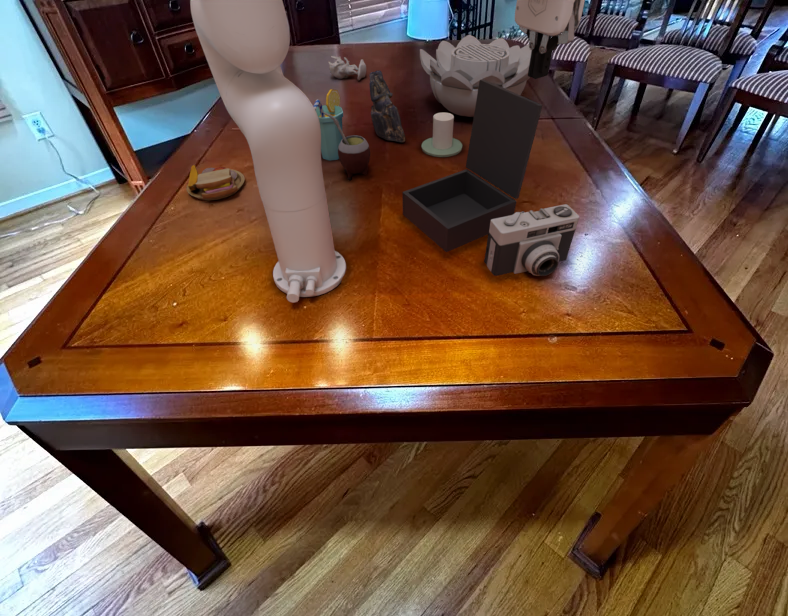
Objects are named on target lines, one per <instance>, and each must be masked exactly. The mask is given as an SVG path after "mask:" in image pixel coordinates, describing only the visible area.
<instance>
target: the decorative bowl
mask: <svg viewBox="0 0 788 616" xmlns="http://www.w3.org/2000/svg"><path fill="white" fill-rule="evenodd" d="M531 52H532V50H530V49H529V43H528V44H526V45H524V46H522V47H520V45H517V44H516V45H513V46H511V47H510V45H509V44H508V42H507V41H506V39H504V38H502V37H499V38H496V39H494V40H493V41H491V42H489V43H488V44H487V43H481V41H479V40H478V39H477V37H475V36H473V35H471V34H467V35H466V36H464V37H463V38H462V39H460V41H459V42H458V43H457V45H456V46H454V45H453V44H452V43H450V42H449V41H447V40H442V41H440V43H439V44H438V47H437V48H436V49H435V57H436V59H435V58H434V57H433V56H432V55H430V54H429V53H428V52H427V51H426V50H424V49H422V48H420V49H419V60H420V65H421V68H423V70H424V72H425V73H426V74H427V75H428V76H429V84H430V88H431V90H432V93H433V96H434V97H435V100H436V101H437V102H438V103H439V104H441V105H442V106H443V108H445V109H446V110H447V111H449V113H451V114H453V115H457V116H461V117H467V118H468V117H469V118H474V112H475V106H476V100H477V94H478V88H479V81H480V80H481V79H484V80H486V81H488V82H491V83H493V84H495V85H498V86H500V87H502V88H505V89H507V90H509V91H511V92H514V93H516V94H518V95H521V96H522V93H523V91H524V90H525V87H526V85H527V81H528V80H529V79H530V78H531V77H529V76H528V70H529V64H530V58H531Z"/></svg>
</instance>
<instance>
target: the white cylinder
mask: <svg viewBox="0 0 788 616" xmlns="http://www.w3.org/2000/svg"><path fill="white" fill-rule="evenodd" d="M454 120H455V116H454V114H453V113H451V112H437V113H435V114H434V115H433V116H432V137H433V142H432V145H433V147H434V148H436V149H442V150H443V149H448V148H450V147H451V146H452V138H454V137H453V135H454V123H455V121H454Z"/></svg>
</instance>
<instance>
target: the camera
mask: <svg viewBox="0 0 788 616" xmlns="http://www.w3.org/2000/svg"><path fill="white" fill-rule="evenodd" d="M579 221H580V215H579V214H578V213H577V212H576V211H575V210H574V209H573V208H572V207H570V205H568V204H567V203H565V204H560V205H555V206H550V207H545V208H542V207H541V208H539V210H536V211H534V210H531V209H530V210H529V211H526V212H525V211H515V212H514V214H513V215H510V216H505V217H500V218H495V219H492V220H491V222H490V229H489V233H488V235H487V240H486V247H485V254H484V260H483V263H484V264H485V265H486V267H487V269H488V270H489V271H490V273H491V274H492V275H493V276H496V277H497V276H502V275H506V274H511V273H513V274H515V275H517V274H520V273H526V272H527V273H530V274H532V276H535V277H540V276H541V277H546V276H549V275H551V274H553V272H555V270H556V269H557V268H558V266H559V263H560V262H564V261H566V260H567V258H568V254H569V252H570V248H571V245H572V242H573V239H574V236H575V232H576V230H577V227H578V223H579Z"/></svg>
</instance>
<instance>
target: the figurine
mask: <svg viewBox="0 0 788 616" xmlns="http://www.w3.org/2000/svg"><path fill="white" fill-rule="evenodd" d="M330 58H331V59H333V60H335V61H334V62H331V61H328V65H329V66H328V69H329V73H330V74H331V75H332V76H333V77H334V78H336V79H338V80H342V79H348V78H350V76H351V75H353V76H354V75H357V81H358V82H359V81H361V79H363V78H366V74H367V65H366V63H365V61H364V58H363V59H360V60H359V61H360V62H359V64H358V66H357V65H356V64H350V63H351V61H350V60H348V58H347V57H343V59H344V60H342V58H341V56H339V55H338V56H335V55H331V56H330ZM345 61H346V62H345Z"/></svg>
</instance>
